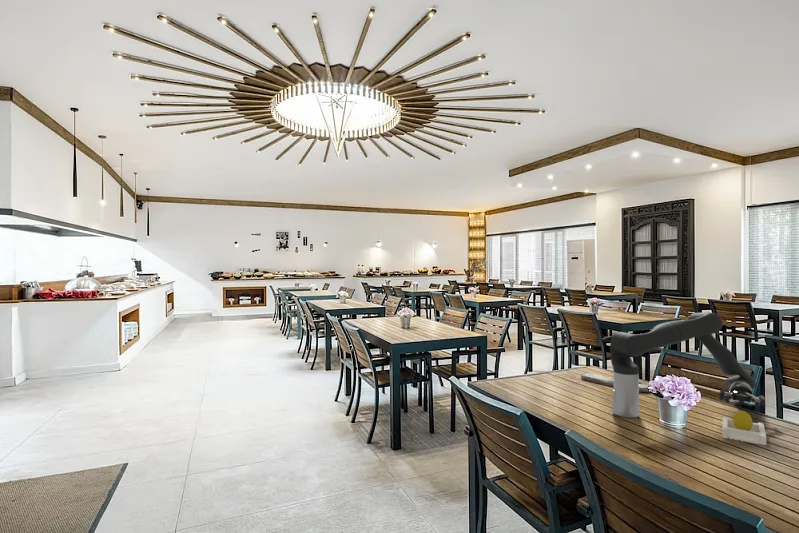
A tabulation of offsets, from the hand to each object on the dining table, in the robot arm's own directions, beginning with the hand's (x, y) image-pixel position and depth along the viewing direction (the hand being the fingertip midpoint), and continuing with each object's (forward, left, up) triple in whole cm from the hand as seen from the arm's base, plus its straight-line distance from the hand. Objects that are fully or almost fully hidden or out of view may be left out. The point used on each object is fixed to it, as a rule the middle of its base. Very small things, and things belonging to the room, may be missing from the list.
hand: (742, 402), depth 170 cm
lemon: (0, -11, -8) cm, 14 cm away
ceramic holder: (0, -11, -9) cm, 14 cm away
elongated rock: (-51, +33, -9) cm, 61 cm away
